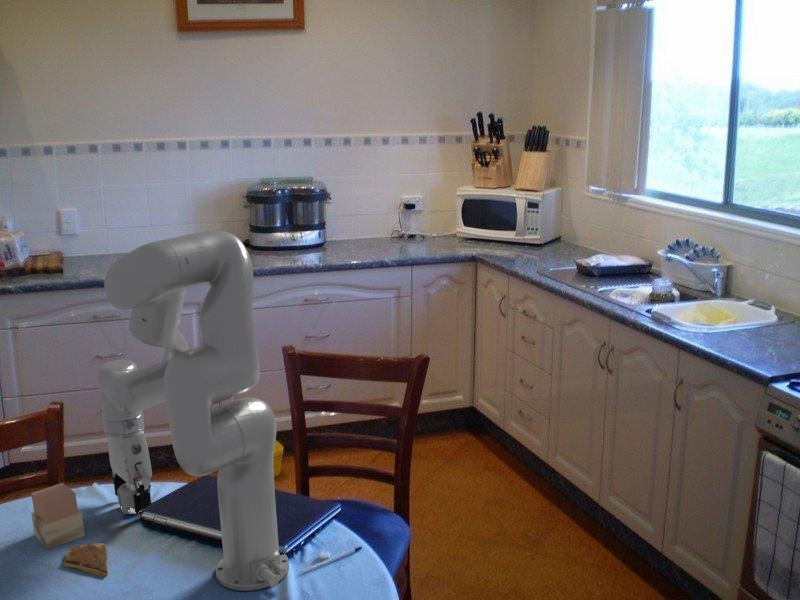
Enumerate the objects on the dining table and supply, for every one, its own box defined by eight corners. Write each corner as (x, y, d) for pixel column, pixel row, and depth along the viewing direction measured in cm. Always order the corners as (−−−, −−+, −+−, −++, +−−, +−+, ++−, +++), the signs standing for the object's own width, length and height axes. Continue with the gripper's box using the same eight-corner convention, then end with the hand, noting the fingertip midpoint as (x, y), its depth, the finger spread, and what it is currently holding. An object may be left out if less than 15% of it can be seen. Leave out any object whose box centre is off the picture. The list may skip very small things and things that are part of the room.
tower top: (78, 512, 165) (75, 492, 164) (46, 523, 161) (43, 504, 160) (65, 501, 169) (62, 482, 168) (34, 512, 165) (31, 493, 164)
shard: (108, 579, 152) (107, 570, 152) (61, 589, 150) (60, 579, 149) (107, 548, 162) (106, 540, 162) (64, 557, 160) (62, 548, 159)
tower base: (84, 536, 166) (81, 512, 165) (47, 550, 162) (44, 525, 160) (71, 522, 171) (67, 499, 170) (34, 535, 167) (31, 512, 166)
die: (149, 510, 175) (147, 488, 173) (124, 517, 172) (121, 494, 171) (143, 500, 179) (141, 478, 178) (118, 507, 177) (116, 484, 175)
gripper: (161, 430, 167) (169, 511, 171) (124, 405, 180) (133, 481, 184) (123, 442, 162) (133, 524, 167) (88, 415, 175) (98, 493, 179)
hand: (133, 502), depth 175 cm, fingers open, 9 cm apart
